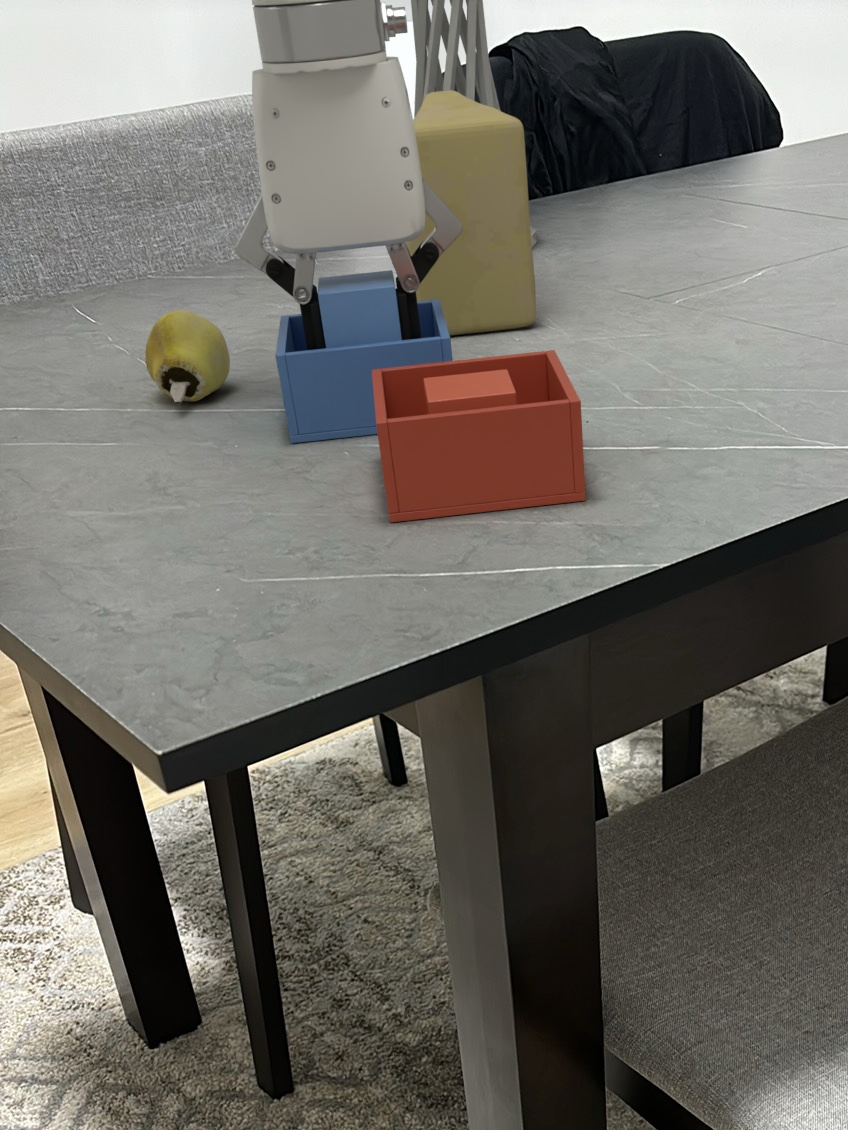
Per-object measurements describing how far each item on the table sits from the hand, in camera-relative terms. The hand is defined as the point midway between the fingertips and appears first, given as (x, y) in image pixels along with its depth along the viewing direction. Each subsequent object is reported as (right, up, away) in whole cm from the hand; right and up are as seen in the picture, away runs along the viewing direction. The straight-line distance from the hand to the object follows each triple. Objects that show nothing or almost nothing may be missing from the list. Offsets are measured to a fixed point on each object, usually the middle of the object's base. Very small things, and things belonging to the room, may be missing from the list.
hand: (366, 355), depth 94 cm
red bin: (+8, -12, -11) cm, 18 cm away
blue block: (0, 0, 0) cm, 0 cm away
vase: (+5, +31, +46) cm, 55 cm away
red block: (+8, -12, -11) cm, 18 cm away
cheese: (+6, +15, +26) cm, 31 cm away
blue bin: (0, -3, +2) cm, 4 cm away
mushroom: (-14, 0, +8) cm, 16 cm away
